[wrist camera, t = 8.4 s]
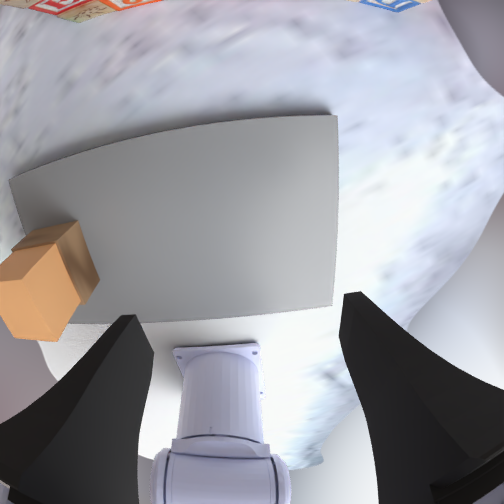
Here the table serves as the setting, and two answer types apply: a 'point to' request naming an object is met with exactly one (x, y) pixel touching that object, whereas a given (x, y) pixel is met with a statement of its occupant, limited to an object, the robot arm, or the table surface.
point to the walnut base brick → (67, 254)
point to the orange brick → (36, 293)
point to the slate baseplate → (199, 218)
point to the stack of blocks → (99, 3)
